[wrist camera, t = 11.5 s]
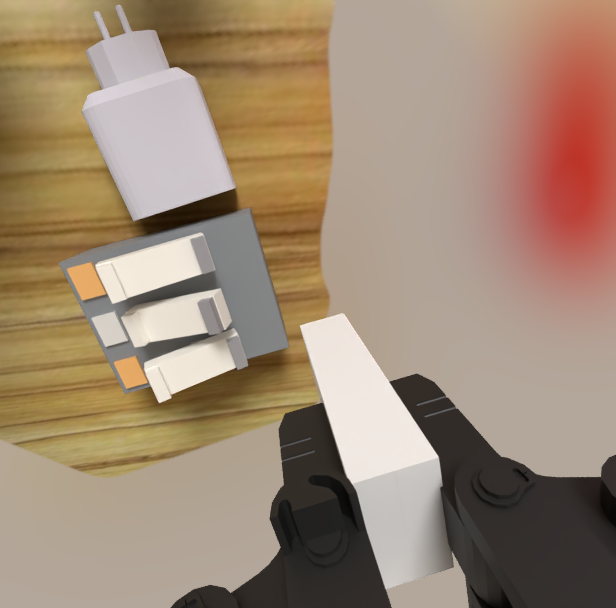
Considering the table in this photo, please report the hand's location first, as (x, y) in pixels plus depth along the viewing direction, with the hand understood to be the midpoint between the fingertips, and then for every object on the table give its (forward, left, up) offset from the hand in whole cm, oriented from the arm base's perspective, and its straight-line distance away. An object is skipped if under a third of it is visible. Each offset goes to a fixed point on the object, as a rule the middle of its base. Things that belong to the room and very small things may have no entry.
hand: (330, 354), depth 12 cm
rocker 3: (-10, -7, -18) cm, 22 cm away
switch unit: (-10, -3, -26) cm, 28 cm away
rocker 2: (-10, -3, -18) cm, 21 cm away
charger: (-8, +13, -27) cm, 31 cm away
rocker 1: (-10, +2, -18) cm, 21 cm away
